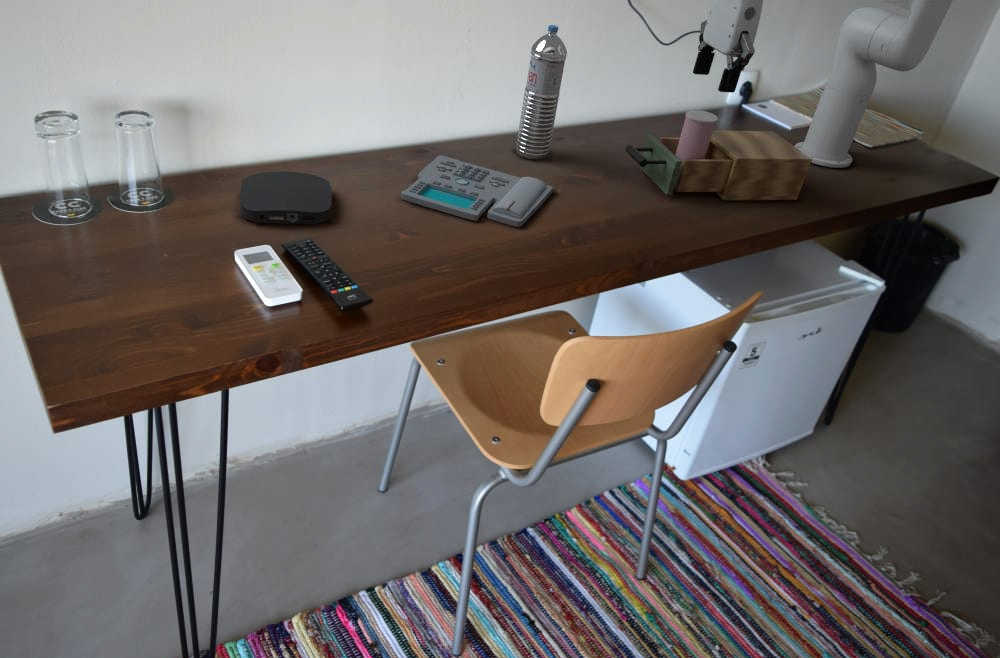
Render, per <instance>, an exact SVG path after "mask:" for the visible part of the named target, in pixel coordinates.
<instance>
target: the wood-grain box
mask: <svg viewBox="0 0 1000 658" xmlns="http://www.w3.org/2000/svg"><path fill="white" fill-rule="evenodd" d="M710 141H711V142H712V143H713V144H714V145H715V146H717V147H718V148H719V149H720V150H722V151H723V152H724V153H725V154H726V155H728V156H729V157H730V158H731V159H733V160H734V162H733V165H732V168H731V171H730V174H729V177H728V180H727V183H726V186H725V190H724V192H714V193H715V195H717V196H718V197H719V198H720V199H721V200H722V201H797V200H798V197H799V195H800V192H801V189H802V187H803V184H804V182H805V179H806V176H807V174H808V172H809V169H810V166H811V164H812V163H811V161H812V159H811V158H810V157H809V156H807V155H806V154H804V153H803V152H802V151H800V150H799V149H797V148H796V147H795V145H793V144H792V143H791V142H789V141H787V140H786V139H785V138H784V137H782V136H781V135H780V134H778V133H776V132H775V131H774V130H773V131H771V130H770V131H767V130H764V131H763V130H719V129H718V130H717V129H716V130H715V129H714V130H713V133H712V136H711V140H710Z"/></svg>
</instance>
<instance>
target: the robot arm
mask: <svg viewBox="0 0 1000 658" xmlns="http://www.w3.org/2000/svg"><path fill="white" fill-rule="evenodd" d="M880 1H881V2H884V3H886V4H889V5H893V6H896V7H898V8H899V7H900V8H902V9H906V10H909V11H910V12H909V16H908V17H907V16H904V15H901V14H898V13H895V12H892V11H889V10H887V9H886V10H885V9H882V8H879V7H874V6H863V7H860V8H856V9H855V10H853V11H852V12H851V13H849V14H848V15H847V16H846V18H845V19H844V21H843V23H842V25H841V28H840V31H839V36H838V43H837V46H836V47H837V48H836V53H835V57H834V60H833V63H832V66H831V69H830V72H829V75H828V77H827V80H826V83H825V85H824V88H823V90H822V92H821V96H820V98H819V101H818V104H817V106H816V109H815V112H814V114H813V117H812V120H811V122H810V124H809V128H808V130H807V132H806V133H807V134H806V135H805V138H804V141H799V142H797V143H795V145H794V147H796V148H797V149H799V150H800V151H802V152H803V153H804V154H806V155H807V156H809V157H810V158H811V159H812V161H811V164H813V165H817V166H821V167H825V168H831V169H844V168H847V167H850V166H851V164H852V162H853V157H852V155H850V153H848V152H849V150H850V147H851V145H852V143H853V142H854V139H855V135H856V134H857V131H858V129H859V126H860V124H861V121H862V119H863V117H864V114H865V111H866V109H867V106H868V104H869V102H870V100H871V97H872V95H873V93H874V91H875V88H876V87H875V86H876V85H877V78H878V77H877V76H878V75H877V66H876V65H879V66H882V67H885V68H888V69H891V70H894V71H897V72H909V71H912V70H914V69H916V68H917V67H918V66H919V65H920V64H921V63H922V61H923V60H924V58H925V57H926V55H927V53H928V52H929V50H930V48H931V46H932V44H933V42H934V41H935V38H936V36H937V34H938V32H939V30H940V28H941V26H942V23H943V21H944V19H945V17H946V15H947V13H948V11H949V10H950V7H951V5H952V3H953V1H954V0H880ZM763 4H764V0H713V2H712V5H711V8H710V10H709V13H708V15H707V19H706V20H703V21H702V22H701V23H700V34H699V36H698V40H699V44H698V46H697V51H698V52H697V56H696V60H695V62H694V66H693V70H692V73H693V75H701V76H702V75H703V76H708V75H709V74H710V71H711V68H712V65H713V61H714V58H715V55H716V53H715V52H714V51H717V52H719V53H720V54H722V55H724V56H726V67H724V68H723V72H722V75H721V78H720V82H719V85H718V88H717V91H718V92H720V93H735V91H736V90H737V86H738V83H739V80H740V77H741V75H742V74H741V73H742V72H743V71H744V70H745V68H746V66H748V65H749V63H750V61H751V59H752V57H753V56H754V55H755V54H756V50H755V47H754V44H755V41H756V36H757V33H758V29H759V24H760V21H761V16H762V11H763V6H764V5H763ZM734 58H736V59H735V60H734Z"/></svg>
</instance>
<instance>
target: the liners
mask: <svg viewBox="0 0 1000 658" xmlns="http://www.w3.org/2000/svg"><path fill="white" fill-rule="evenodd" d="M718 121H719V118H718V116H717V115H715V114H714V113H712V112H709V111H705V110H700V109H689V110H687V111H685V118H684V121H683V122H684V123H683V126H682V130H681V132H680V136H679V138H680V140H679V143H678V147H677V150H676V154H675V156H676V157H678V158H679V159H680V160H681V161H682V163H681V166H680V170H679V173H678V177H677V179H679V177H680V173H681V170H682V166H683V163H684V159H705V156H706V153H707V149H708V146H709V143H710V140H711V136H712V133H713V130H715V127H716V123H717V122H718Z"/></svg>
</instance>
